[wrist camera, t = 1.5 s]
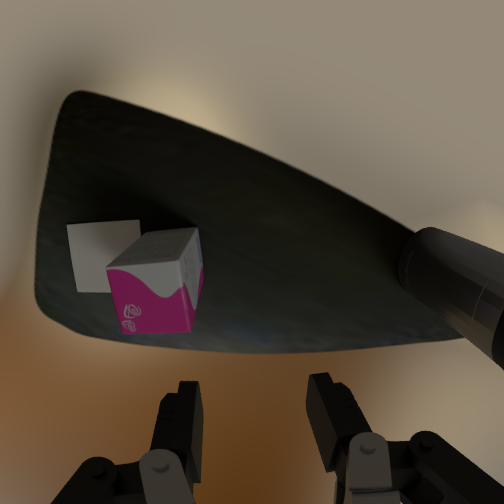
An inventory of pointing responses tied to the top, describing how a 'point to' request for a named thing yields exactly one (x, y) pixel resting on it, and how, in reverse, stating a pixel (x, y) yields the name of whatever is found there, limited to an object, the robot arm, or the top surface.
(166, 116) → the top surface
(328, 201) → the top surface
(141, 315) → the supplement box
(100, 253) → the mat
